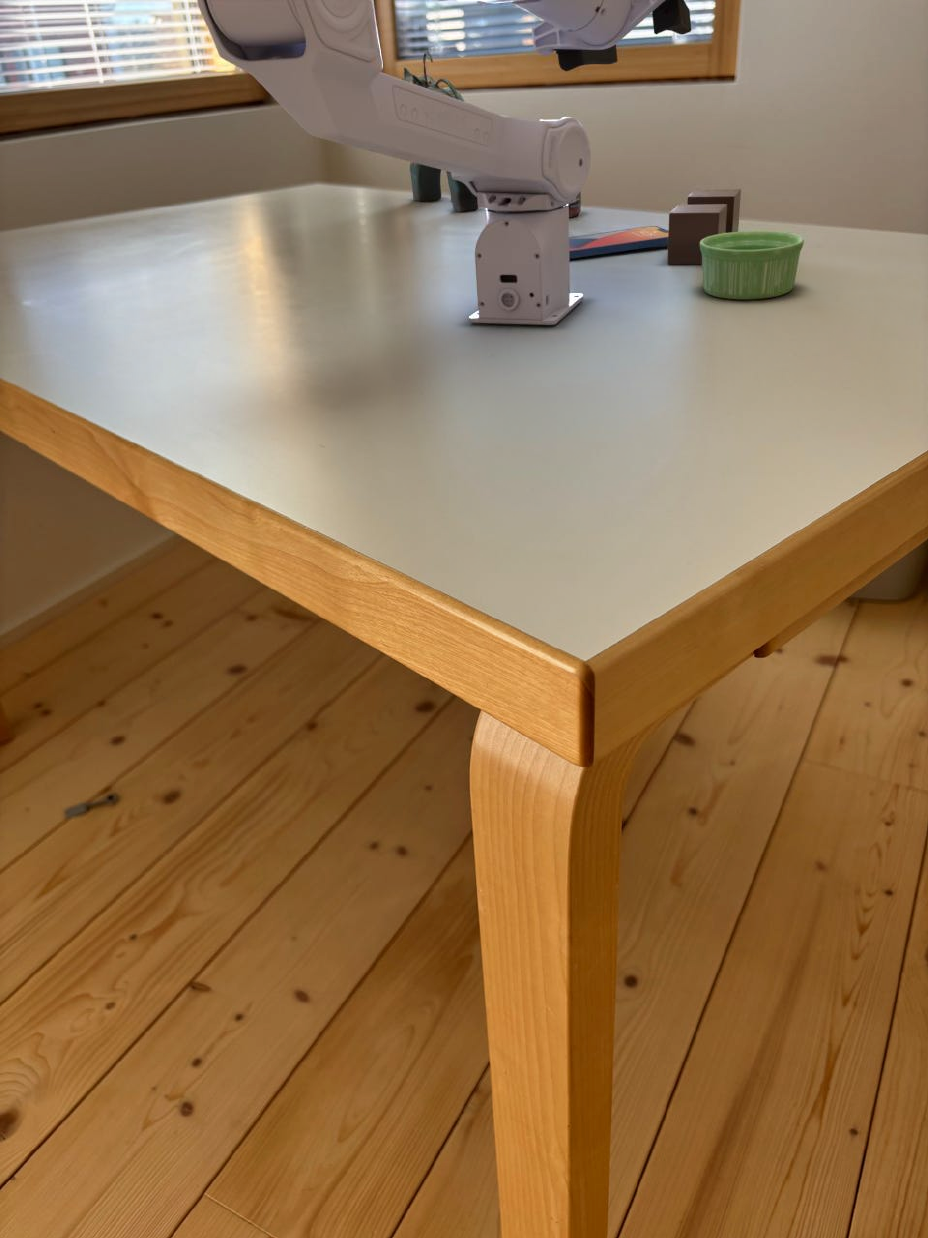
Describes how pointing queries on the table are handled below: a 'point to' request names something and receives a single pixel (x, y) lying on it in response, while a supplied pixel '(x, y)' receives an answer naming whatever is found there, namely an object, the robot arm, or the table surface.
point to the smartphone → (617, 241)
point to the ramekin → (750, 264)
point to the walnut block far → (720, 197)
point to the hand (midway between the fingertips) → (649, 36)
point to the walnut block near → (693, 231)
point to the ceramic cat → (429, 177)
